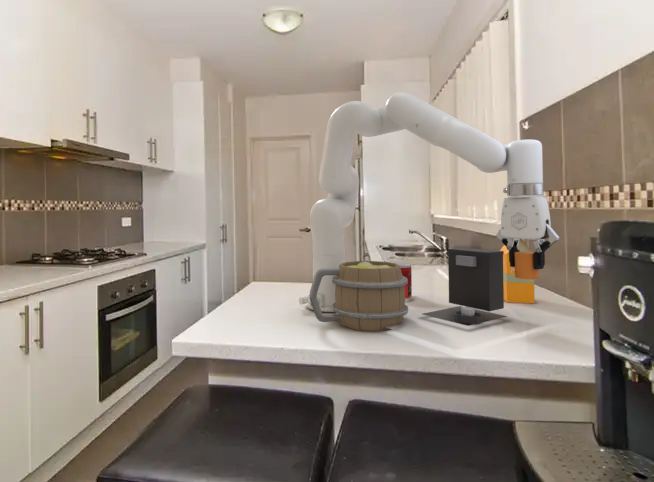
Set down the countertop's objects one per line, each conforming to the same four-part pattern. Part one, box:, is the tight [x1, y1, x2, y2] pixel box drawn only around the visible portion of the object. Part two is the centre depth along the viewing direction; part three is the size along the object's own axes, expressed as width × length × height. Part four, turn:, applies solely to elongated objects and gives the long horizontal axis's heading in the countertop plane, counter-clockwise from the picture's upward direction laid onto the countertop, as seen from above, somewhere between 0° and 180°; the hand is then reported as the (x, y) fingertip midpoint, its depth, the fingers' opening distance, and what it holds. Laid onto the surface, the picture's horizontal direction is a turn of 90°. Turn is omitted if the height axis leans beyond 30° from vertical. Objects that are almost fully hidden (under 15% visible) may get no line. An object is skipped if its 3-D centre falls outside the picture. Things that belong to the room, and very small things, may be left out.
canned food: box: [394, 262, 413, 299], centre depth 142 cm, size 8×8×11 cm
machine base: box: [422, 305, 508, 327], centre depth 116 cm, size 16×14×3 cm
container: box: [515, 251, 540, 280], centre depth 108 cm, size 5×5×6 cm
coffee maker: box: [447, 247, 505, 312], centre depth 119 cm, size 8×12×15 cm, turn 32°
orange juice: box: [499, 239, 536, 304], centre depth 139 cm, size 8×9×20 cm
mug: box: [308, 260, 409, 332], centre depth 113 cm, size 19×25×15 cm
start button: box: [461, 306, 476, 316], centre depth 110 cm, size 3×3×2 cm
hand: (526, 266), depth 108 cm, fingers closed on container, 5 cm apart
